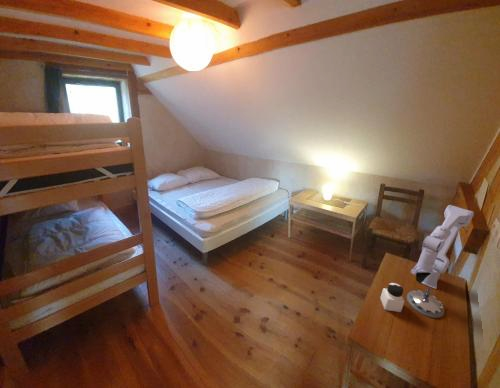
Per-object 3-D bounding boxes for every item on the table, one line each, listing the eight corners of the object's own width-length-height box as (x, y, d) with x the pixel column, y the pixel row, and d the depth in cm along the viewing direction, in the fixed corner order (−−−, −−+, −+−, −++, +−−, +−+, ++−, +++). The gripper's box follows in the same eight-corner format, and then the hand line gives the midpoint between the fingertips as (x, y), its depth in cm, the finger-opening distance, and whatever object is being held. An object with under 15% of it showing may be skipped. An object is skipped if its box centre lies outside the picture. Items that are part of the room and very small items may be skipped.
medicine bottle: (401, 312, 108) (407, 293, 103) (384, 310, 109) (390, 291, 104) (395, 300, 114) (401, 282, 109) (379, 298, 116) (385, 280, 111)
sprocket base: (408, 287, 122) (409, 285, 121) (444, 302, 113) (445, 300, 112) (404, 306, 111) (404, 304, 110) (443, 324, 102) (444, 322, 102)
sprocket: (411, 287, 120) (413, 280, 118) (442, 300, 112) (446, 292, 110) (407, 304, 111) (410, 296, 108) (441, 319, 103) (445, 311, 101)
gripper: (425, 268, 102) (416, 291, 107) (446, 261, 106) (437, 283, 112) (410, 258, 108) (402, 280, 113) (431, 252, 113) (422, 273, 118)
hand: (418, 281), depth 113 cm, fingers closed
